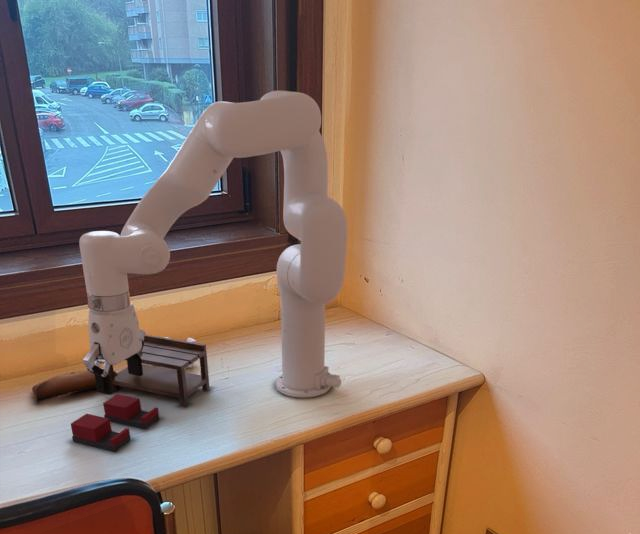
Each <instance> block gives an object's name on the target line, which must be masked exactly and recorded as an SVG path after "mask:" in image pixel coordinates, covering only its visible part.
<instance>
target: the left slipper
mask: <svg viewBox="0 0 640 534" xmlns="http://www.w3.org/2000/svg"><path fill="white" fill-rule="evenodd" d="M70 428H71V433H72V436H71V438H72V442H73V443H76V444H80V445H85V446H88V447H92V448H97V449H101V450H105V451H109V452H114V453H116V452H118V451H119V450H120V449H122V448H123V447H124V446H126V445H127V444H128V443H129V442H131V439H132V438H131V433H130V428H126V427H125V428H124V429H123V430H122V431H120V432H117V431H114V430H113V429H112V422H111V421H110V419H109V418H105V417H104V416H99V415H95V414H92V413H91V414H90V413H85V414H83V415H82V416H81V417H78V418H77V419H76V420H74V421H73V422H70Z"/></svg>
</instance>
